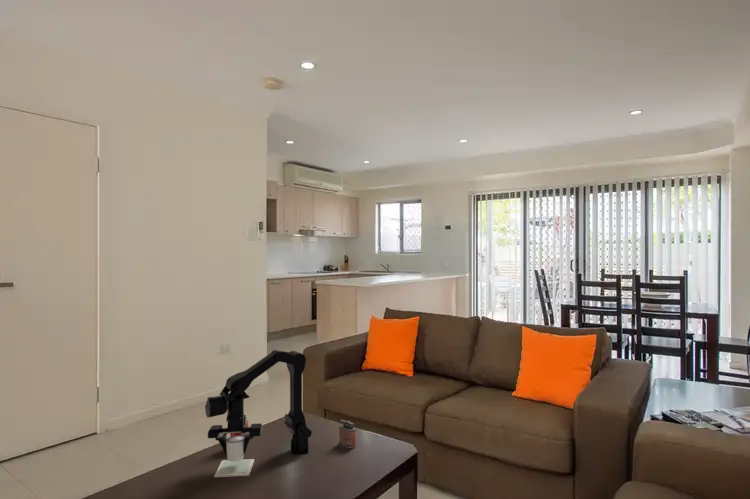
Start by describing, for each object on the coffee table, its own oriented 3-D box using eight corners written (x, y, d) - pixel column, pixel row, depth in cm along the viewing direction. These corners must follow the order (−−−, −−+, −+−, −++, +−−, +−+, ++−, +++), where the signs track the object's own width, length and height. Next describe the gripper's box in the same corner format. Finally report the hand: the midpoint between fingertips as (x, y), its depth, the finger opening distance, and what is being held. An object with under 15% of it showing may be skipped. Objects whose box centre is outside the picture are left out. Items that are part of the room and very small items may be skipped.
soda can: (250, 444, 189) (250, 415, 190) (244, 451, 182) (244, 421, 183) (234, 443, 190) (234, 414, 190) (227, 451, 183) (227, 421, 183)
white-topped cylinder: (249, 455, 170) (249, 436, 170) (237, 463, 164) (237, 444, 164) (233, 453, 172) (233, 434, 173) (221, 460, 166) (221, 441, 166)
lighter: (357, 446, 188) (357, 421, 188) (352, 449, 185) (353, 424, 185) (341, 441, 192) (342, 418, 192) (337, 444, 189) (337, 420, 190)
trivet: (254, 460, 175) (254, 458, 175) (249, 475, 163) (249, 473, 163) (222, 462, 173) (222, 459, 173) (214, 477, 161) (214, 475, 161)
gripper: (264, 403, 177) (264, 443, 177) (214, 405, 175) (214, 446, 175) (260, 413, 166) (260, 456, 166) (207, 415, 164) (207, 458, 164)
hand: (235, 454), depth 168 cm, fingers closed on white-topped cylinder, 6 cm apart
